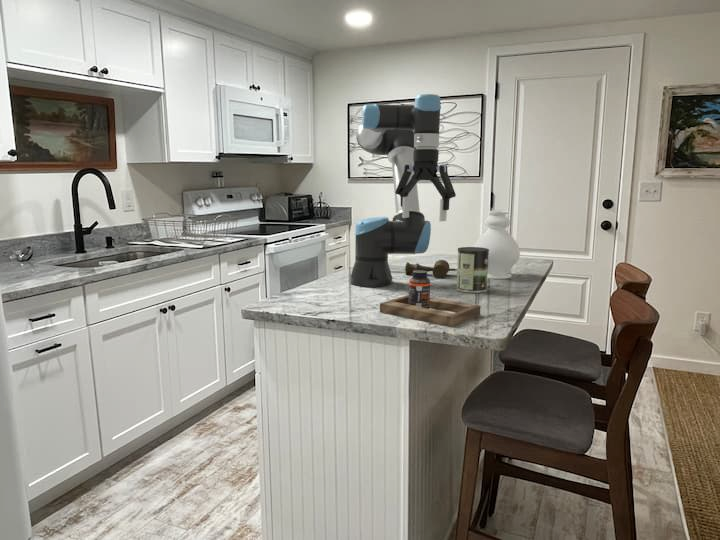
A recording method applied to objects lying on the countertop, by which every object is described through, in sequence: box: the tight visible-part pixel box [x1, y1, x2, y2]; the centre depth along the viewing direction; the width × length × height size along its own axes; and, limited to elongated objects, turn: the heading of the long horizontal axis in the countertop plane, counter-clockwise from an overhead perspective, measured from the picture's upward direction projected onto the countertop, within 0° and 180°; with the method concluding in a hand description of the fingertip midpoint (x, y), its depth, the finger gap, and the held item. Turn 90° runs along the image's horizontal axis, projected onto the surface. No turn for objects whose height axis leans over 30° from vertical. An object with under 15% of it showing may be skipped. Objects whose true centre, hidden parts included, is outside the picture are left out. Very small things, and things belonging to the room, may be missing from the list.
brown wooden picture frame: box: [379, 294, 482, 327], centre depth 148 cm, size 23×16×2 cm
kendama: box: [404, 259, 458, 279], centre depth 204 cm, size 6×10×20 cm
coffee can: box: [456, 246, 489, 294], centre depth 178 cm, size 10×10×14 cm
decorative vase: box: [472, 210, 521, 280], centre depth 203 cm, size 18×18×25 cm
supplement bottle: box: [408, 270, 431, 309], centre depth 149 cm, size 6×6×11 cm
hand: (423, 219), depth 163 cm, fingers open, 13 cm apart
